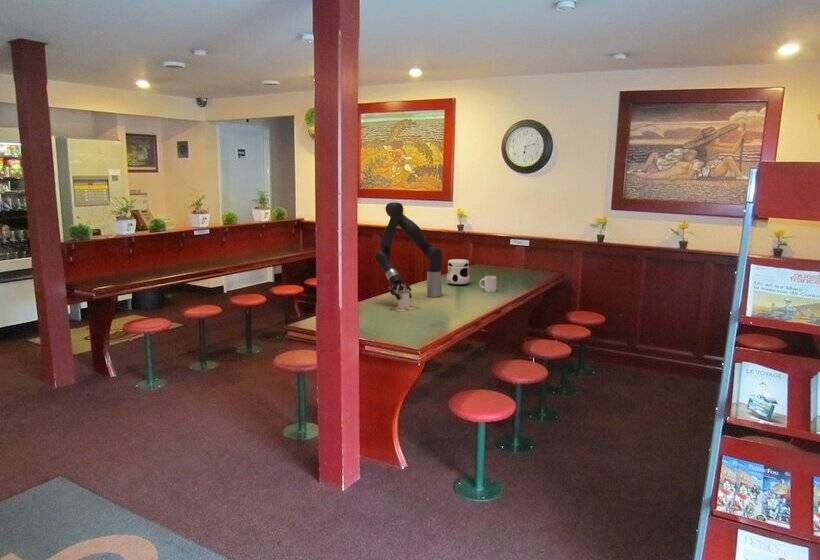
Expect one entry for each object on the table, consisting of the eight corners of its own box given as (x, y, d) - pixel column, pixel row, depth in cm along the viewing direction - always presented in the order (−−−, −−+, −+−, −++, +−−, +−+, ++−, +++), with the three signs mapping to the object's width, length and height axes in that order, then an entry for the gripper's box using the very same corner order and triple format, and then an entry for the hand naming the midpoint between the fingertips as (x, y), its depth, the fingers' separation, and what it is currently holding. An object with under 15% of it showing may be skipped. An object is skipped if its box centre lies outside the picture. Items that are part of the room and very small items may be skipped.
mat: (407, 304, 367) (407, 304, 367) (419, 308, 358) (419, 307, 358) (387, 308, 357) (387, 308, 357) (399, 312, 348) (399, 311, 348)
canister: (404, 306, 361) (404, 289, 359) (409, 308, 357) (409, 291, 355) (397, 307, 358) (397, 290, 356) (403, 309, 354) (402, 292, 351)
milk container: (442, 283, 436) (442, 259, 433) (462, 281, 443) (462, 258, 440) (453, 287, 421) (454, 263, 417) (474, 285, 428) (474, 261, 425)
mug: (477, 291, 406) (478, 277, 404) (480, 289, 414) (480, 275, 412) (494, 292, 402) (495, 278, 400) (497, 290, 410) (497, 276, 408)
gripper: (387, 275, 355) (398, 296, 348) (405, 272, 363) (416, 293, 357) (382, 282, 360) (393, 303, 353) (400, 279, 369) (411, 300, 362)
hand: (405, 298), depth 355 cm, fingers open, 8 cm apart
